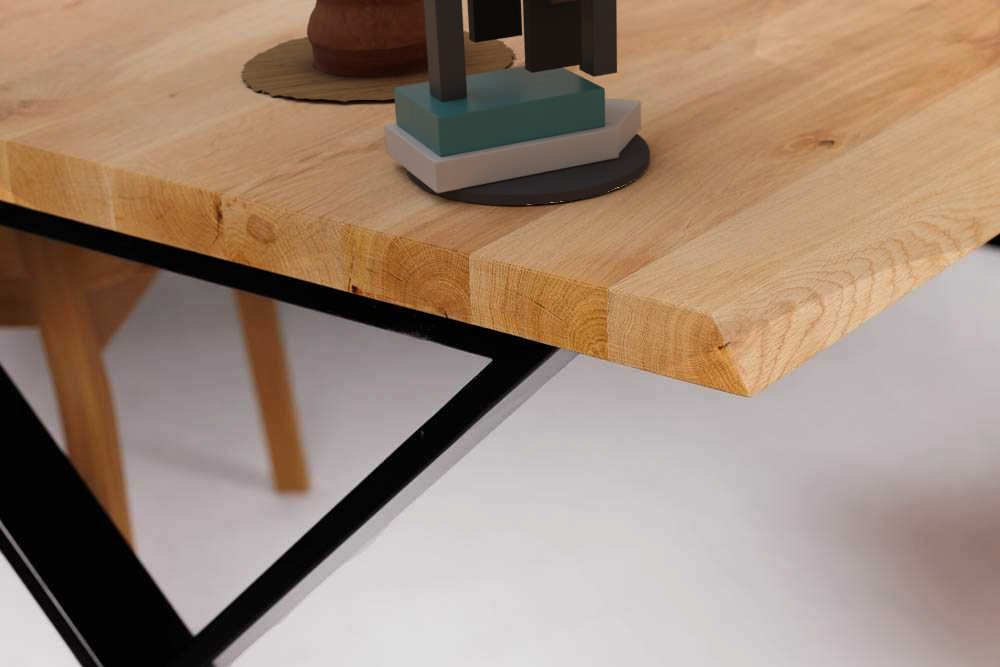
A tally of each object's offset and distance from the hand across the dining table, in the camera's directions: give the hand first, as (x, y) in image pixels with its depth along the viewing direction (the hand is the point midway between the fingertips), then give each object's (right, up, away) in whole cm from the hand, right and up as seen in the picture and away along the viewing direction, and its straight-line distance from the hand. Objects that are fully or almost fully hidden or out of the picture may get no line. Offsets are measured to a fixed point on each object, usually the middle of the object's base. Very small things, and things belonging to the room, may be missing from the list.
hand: (523, 50), depth 72 cm
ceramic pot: (-9, +3, +22) cm, 24 cm away
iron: (0, -5, +3) cm, 6 cm away
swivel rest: (0, -5, +3) cm, 6 cm away
